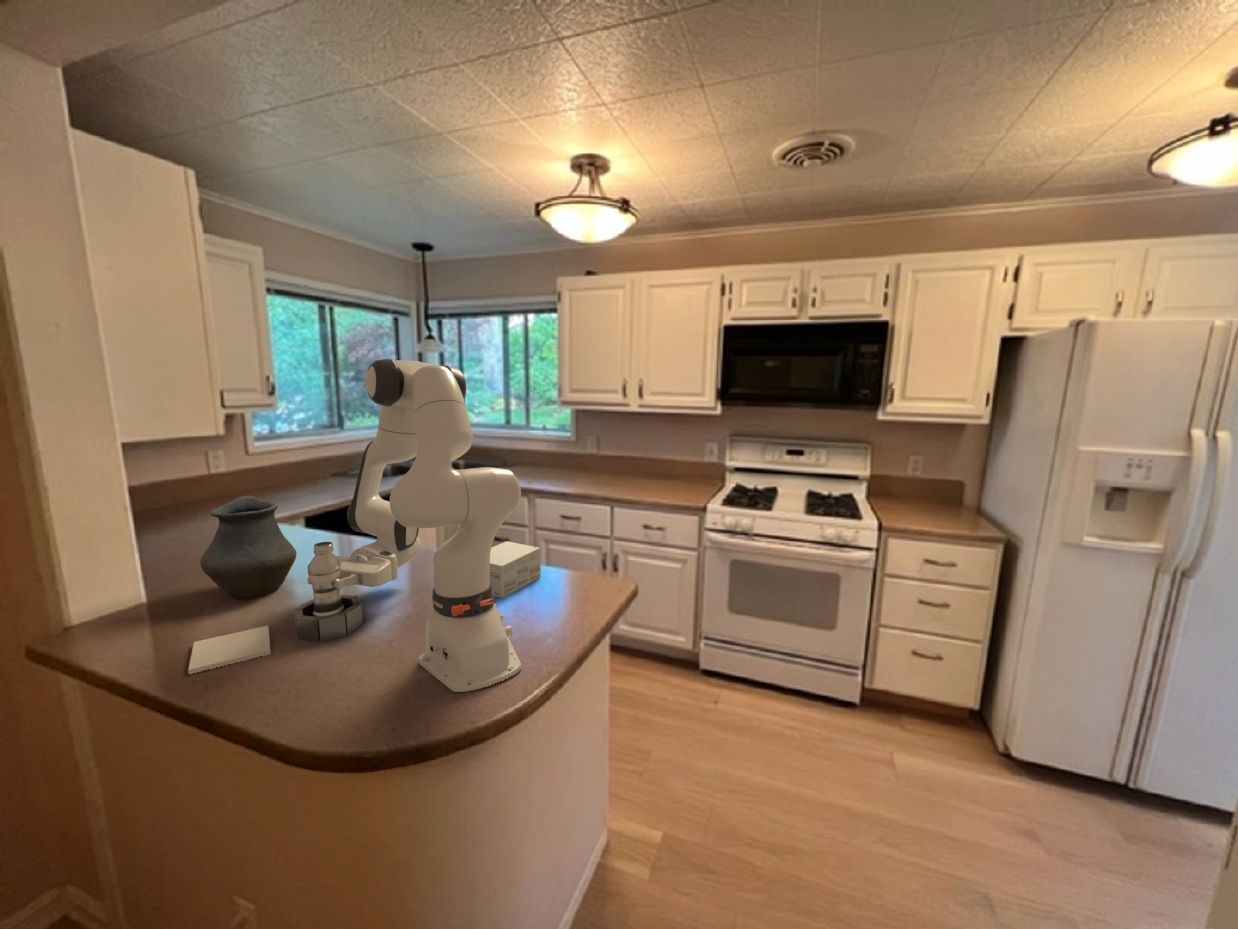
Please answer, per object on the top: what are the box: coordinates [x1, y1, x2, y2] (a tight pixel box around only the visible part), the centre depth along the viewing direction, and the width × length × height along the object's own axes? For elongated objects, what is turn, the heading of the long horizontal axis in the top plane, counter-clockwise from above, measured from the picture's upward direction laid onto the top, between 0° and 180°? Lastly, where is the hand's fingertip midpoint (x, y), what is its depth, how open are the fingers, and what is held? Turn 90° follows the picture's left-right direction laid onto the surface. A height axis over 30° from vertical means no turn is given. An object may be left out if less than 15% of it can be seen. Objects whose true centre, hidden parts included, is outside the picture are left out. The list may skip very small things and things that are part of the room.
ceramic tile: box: [187, 625, 272, 675], centre depth 105 cm, size 13×13×1 cm
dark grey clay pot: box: [199, 495, 297, 600], centre depth 134 cm, size 21×22×25 cm
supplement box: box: [490, 540, 542, 599], centre depth 143 cm, size 17×13×9 cm
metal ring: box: [293, 594, 364, 643], centre depth 116 cm, size 13×13×5 cm
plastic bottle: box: [307, 541, 345, 617], centre depth 114 cm, size 6×7×20 cm
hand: (322, 583), depth 113 cm, fingers closed on plastic bottle, 6 cm apart
